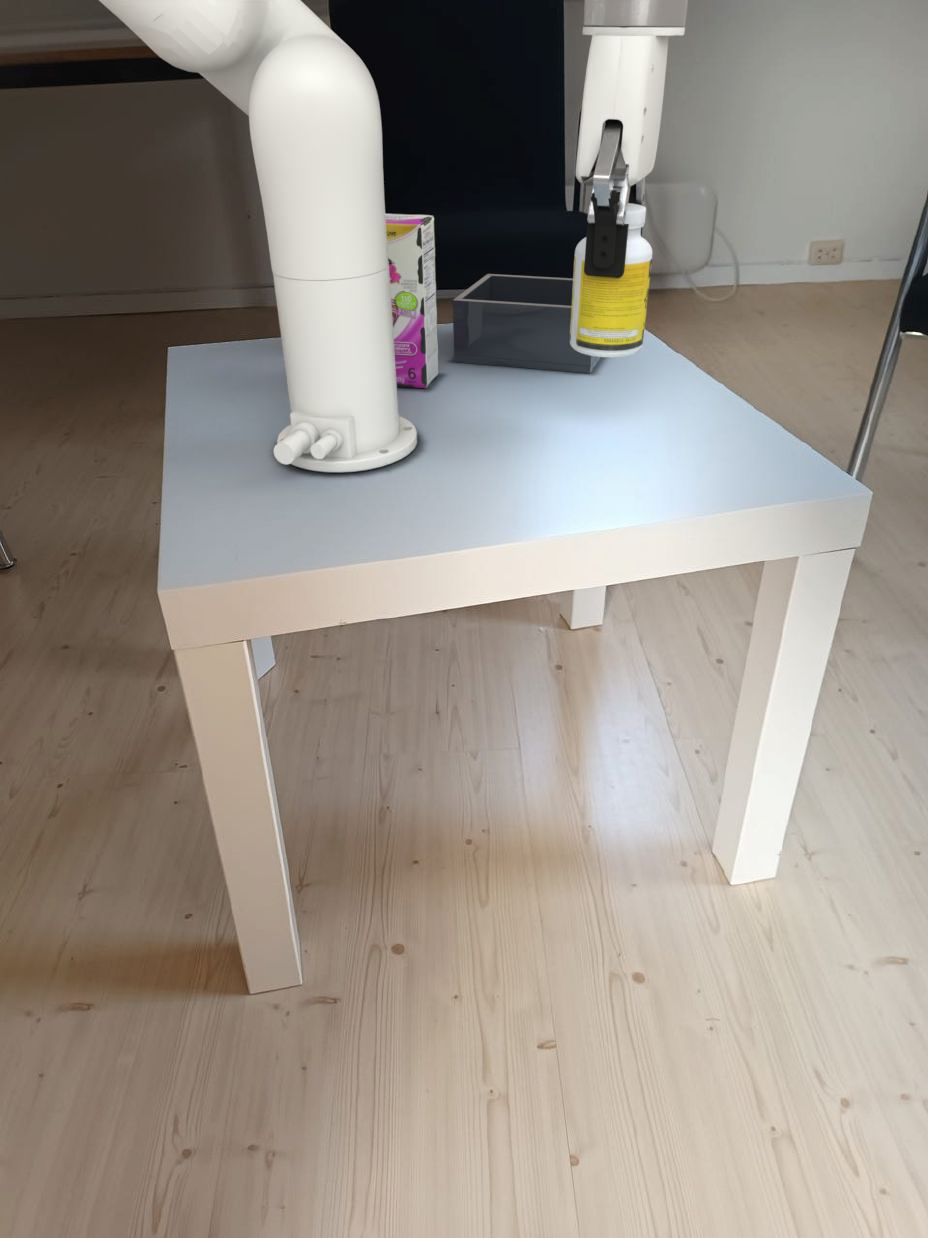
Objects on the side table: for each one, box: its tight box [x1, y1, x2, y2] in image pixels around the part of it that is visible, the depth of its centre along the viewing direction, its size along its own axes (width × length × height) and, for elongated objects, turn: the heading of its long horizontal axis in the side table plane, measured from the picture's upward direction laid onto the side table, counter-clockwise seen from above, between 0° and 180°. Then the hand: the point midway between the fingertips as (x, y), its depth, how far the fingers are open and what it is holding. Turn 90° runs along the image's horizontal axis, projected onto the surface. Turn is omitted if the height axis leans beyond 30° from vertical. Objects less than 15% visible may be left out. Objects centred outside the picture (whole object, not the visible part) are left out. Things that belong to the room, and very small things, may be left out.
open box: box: [452, 273, 602, 374], centre depth 105 cm, size 13×16×7 cm
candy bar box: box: [385, 213, 440, 389], centre depth 95 cm, size 11×5×16 cm, turn 76°
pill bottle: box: [570, 202, 653, 358], centre depth 78 cm, size 6×6×12 cm
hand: (612, 264), depth 78 cm, fingers closed on pill bottle, 6 cm apart
